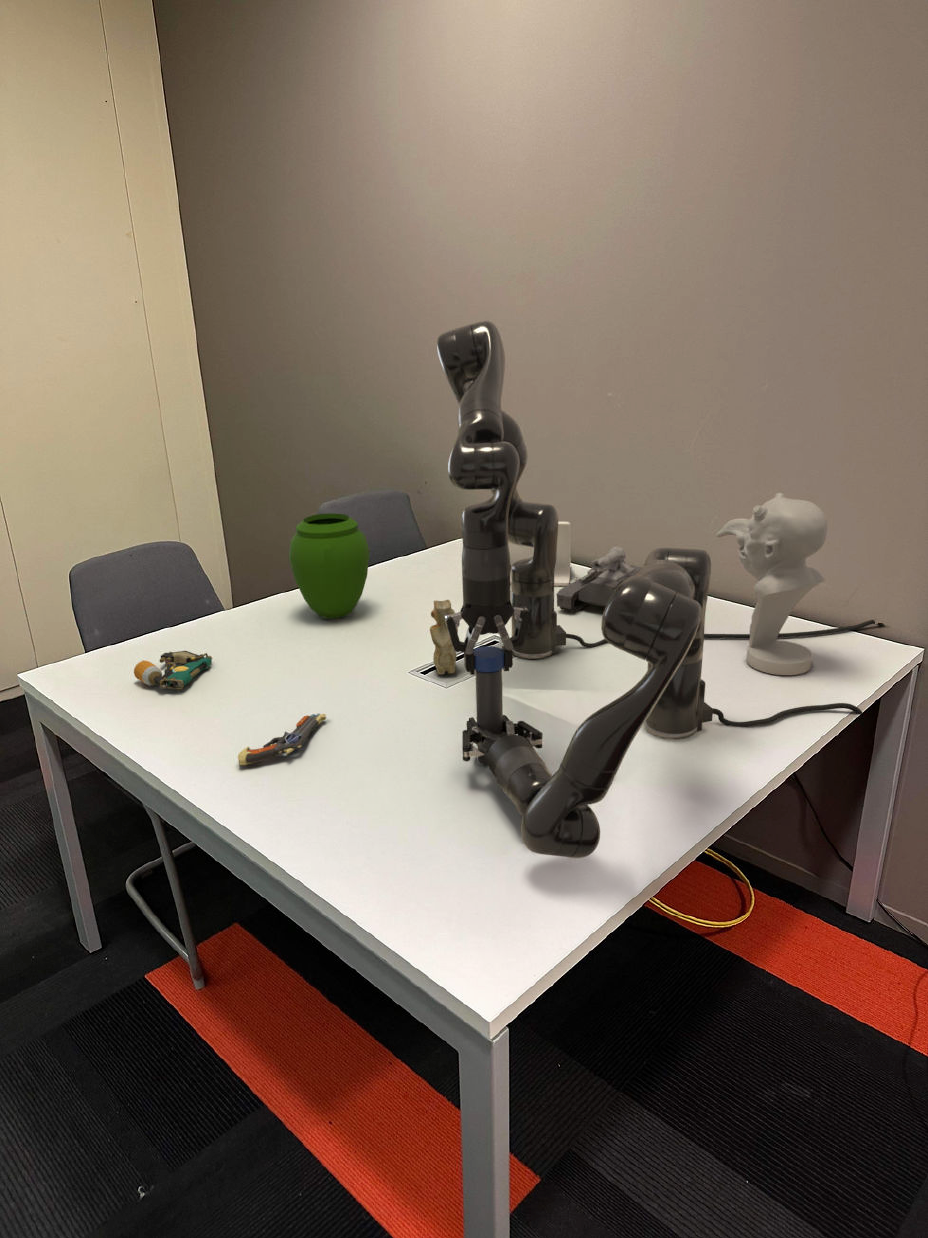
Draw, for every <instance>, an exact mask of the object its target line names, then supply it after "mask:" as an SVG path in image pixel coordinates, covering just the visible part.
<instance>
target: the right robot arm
mask: <svg viewBox="0 0 928 1238" xmlns="http://www.w3.org/2000/svg"><path fill="white" fill-rule="evenodd" d="M711 574H712V561H711V556H710V554H709V553H708V551H707V550H705V549H704V550H703V549H696V548H695V549H694V548H681V547H657V548H654V549H652V550H651V551H650V552H649V554H648V555H647V557H646V559H645V562H644V565H643V567H642V569H641V570H640V571H639V572H638V573H637V574H636V575H633V576H631V577H629V578H627V579H626V580H624V581H623V582H622V583H621V584H620V585H619V586H618V587H617V589H616V590H615V591H614V593H613V594H612V596H611V597H610V599H609V601H608V603H607V605H606V607H604V610H603V613H602V617H601V624H600V625H601V634H602V637H603V639H605V640H606V641H607V643H609V644H610V645H611V646H613V647H614V648H616V649H618V650H620V651H623V652H625V653H627V654H629V655H631V656H634V657H637V658H638V659H641V660H643V661H645V662H647V667H646V668H647V669H646V672H645V674H644V675H643V677H642V678H641V679H639V681H638V682H637V683H636V684H635V685H634V686H633V687H631V688H630V689H629V690H628V691H626V692H625V693H624V694H622V695H621V696H619V697H618V698H616V699H614V700H612V701H611V702H609V703H607V704H606V705H604V706H602V707H601V708H599V709H598V710H596V711H594V712H593V713H592V714H591V715H589V716H588V717H587V718H586V719H584V720H583V722H581V724H579V726H578V727H577V728H576V730H575V732H574V734H573V735H572V738H571V739H570V741H569V744H568V745H567V748H566V751H565V753H564V756H563V757H562V760H561V762H560V764H559V767H558V769H556V771H555V773H553V774H552V772H550V770H549V768H548V766H547V764H546V762H545V761H544V760H543V758H542V756H541V755H540V754H539V753H538V752H537V750H536V749H542V748H543V741H544V740H543V738H544V737H543V735H544V734H543V732H541V731H540V730H539V729H537V728H535V727H534V726H533V725H531V724H529V723H527V722H526V721H524V720H518V721H517V723H514V721H512V720H510V718H509V717H508V716H507V715H506V714H503V733H500V734H492V733H491V732H489V731H488V730H486V729H485V730H482V729H481V728H479V725H478V724H477V720H476V719H475V717H473V716H471V717H468V720H466V729H464V730H462V735H461V736H462V744H461V748H462V761H463V762H470V761H471V758H472V757H477V758H478V756H479V757H480V758H481V759H482V760H484V761H486V763H487V765H488V766H487V767H488V769H489V771H490V773H491V774H492V776H493V777H494V779H495V780H496V783H497V784H498V786H499V787H500V789H501V790H502V791H503V793H504V794H505V795H506V796H507V797H508V798H509V799H510V800H511V802H512V804H513V806H514V808H515V809H516V810H517V812H518V813H519V814H520V815H521V816H522V819H521V823H520V836H521V839H522V843H523V844H524V846H525V847H526V848H527V849H528V850H529V851H531V852H532V853H535V854H538V855H543V856H544V855H545V856H552V857H553V856H554V857H564V858H569V859H584V858H586V857H589V856H590V855H592V854H593V853H594V852H595V851H596V849H597V847H598V846H599V844H600V839H601V825H600V822H599V820H598V816H597V815H596V813H595V812H594V811H593V809H592V807H591V806H589V805H595V804H598V803H599V802H601V801H603V800H604V798H605V797H606V795H607V794H608V792H609V790H610V788H611V786H612V784H613V782H614V781H615V780H614V779H615V778H616V775H617V773H618V771H619V768H620V767H621V765H622V762H623V761H624V758H625V756H626V754H627V752H628V751H629V748H630V747H631V745H632V743H633V741H634V740H635V738H636V736H637V735H638V734H639V732H640V730H641V729H642V727H644V729H645V730H646V732H648V733H649V734H651V735H653V736H655V737H658V738H660V739H667V740H684V739H688V738H691V737H694V736H695V735H696V734H697V733H699V732H702V731H703V724H704V723H710V722H713V716H714V715H716V716H717V719H718V721H719V722H720V723H721V724H722V725H725V726H729V727H736V728H749V727H757V726H764V725H768V724H771V723H775V722H777V721H778V720H780V719H782V718H784V717H787V716H790V715H795V714H799V713H805V712H807V713H808V712H816V711H817V712H819V711H831V710H837V709H845V710H851V711H852V712H853V713H855V714H856V715H863V714H864V712H863V711H862V710H861V709H860V708H859V707H857V706H856V705H854V704H851V703H849V702H848V703H845V702H836V703H828V704H817V705H805V706H804V705H803V706H798V707H797V706H796V707H794V708H793V707H792V708H787V709H785V710H782V711H779V712H777V713H775V714H774V715H771V716H770V717H769V716H768V717H766V718H761V719H754V720H746V721H732V720H729V719H727V718H725V716H724V713H723V712H722V711H721V710H720V709H718V708H713V707H712V706H711V705H709V704H708V703H706V702H705V696H706V695H705V694H706V682H705V680H704V679H702V671H703V655H704V643H705V642H704V641H705V638H704V634H705V628H706V627H705V625H706V612H707V604H708V598H709V597H708V596H709V590H710V584H711V583H710V582H711ZM474 744H475V745H474ZM477 745H478V746H479V749H478V747H476V746H477Z"/></svg>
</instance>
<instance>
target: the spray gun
mask: <svg viewBox="0 0 928 1238" xmlns="http://www.w3.org/2000/svg"><path fill="white" fill-rule="evenodd" d="M212 660H213V657H212V656H211V655H208V653H207V652H205V653H201V654H197V653H194V652H192V651H191V652H190V651H188V650H180V651H169V652H164V653H162V654H161V655H160V658H159V660H158V662H159V663H161V664H163V663H165V664H166V668H165V670H163V672H164V674H163V673H162V669H160V668H159V666H157V665H156V664H154V663H152V662H151V661H149V660H141V661H139V662H138V663H136V665H135V666H134V668H133V675H134V677H135V678H136V679H137V680H139V681H140V682H142V683H143V684H145V685H147V686H155V685H157V686H158V687H160V688H161V689H171V690H172V689H173V690H182V689H184V687H185V686H186V685H188V684H189V683H190V682H191V681H192V679H193V678H195V677H196V676H197V675H198V674H200V673H201V672H202V671H203V670H206V669H208V668H209V667H210V666H211V665H212V662H213V661H212ZM178 663H179V664H181V665H179V666H176V665H177V664H178Z"/></svg>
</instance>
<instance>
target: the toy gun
mask: <svg viewBox="0 0 928 1238" xmlns="http://www.w3.org/2000/svg"><path fill="white" fill-rule="evenodd" d="M326 719H327V714H325V713H317V714H315V713H312V714H311V715H304V716H302V718H301V719H300V720H298V722H297V723H296V724H295V725H296V726H295V727H296V728H295V729H294V730H293V731H292V732H287V731H284V733H283V735H282V736H277V737H273V738H272V739H271V740H269V741H268V742H266V743H265V744H264V745H263V746H262V747H260V748H255V749H253V748H252V749H251V747H250V746H247V747H245V748H244V749H242V750H241V751H240V752H239V753H238V755H237V760H238V764H239V766H246V765H250V764H254V763H258V762H262V761H265V760H268V759H271V758H275V757H279V756H282V755H284V754H286V755H288V754H290V753H292V752H294V751H295V750H296V749H300V748H301V747H302V746H303V744H304V743H305V742H306V741H307V740H308V738H309V736H310V734H311V733H312V732H313V731H314V730H315V729H316V728H317V727H318V726H319V725H320V724H321V723H322V722H324V721H326Z"/></svg>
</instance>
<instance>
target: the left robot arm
mask: <svg viewBox="0 0 928 1238" xmlns="http://www.w3.org/2000/svg"><path fill="white" fill-rule="evenodd" d="M436 353H437V356H438V360H439V364H440V366H441V369H442V370H443V373H444V375H445V378H446V380H447V382H448V384H449V386H450V389H451V391H452V393H453V395H454V397H455V400H456V402H457V403H458V408H457V431H458V432H457V436H456V439H455V442H454V443H453V446H452V448H451V451H450V454H449V457H448V462H447V473H448V478H449V480H450V482H451V483H452V485H453V486H454V487H455V488H457V489H458V490H460V491H465V492H466V491H467V492H468V491H491V494H492V496H491V497H490V498H489V499H487V500H485V501H481V502H477V503H474V504H471V505H468V506H466V507H465V508H464V509H463V511H462V515H461V527H462V529H461V530H462V533H461V534H462V551H461V552H462V554H461V578H462V579H461V580H462V582H461V583H462V606H461V608H460V611H458V612H455V613H454V614H450V613H446V614H445V615H444V619H445V622H446V625H447V629H448V632H449V636H450V639H451V642H452V645H453V647H454V650H455V651H456V653H463V663H464V665H463V666H464V669H465V671H466V672H467V673H468V674H469V675H470V676H474V675H475V659H474V653H473V651H474V650H475V647H476V645H477V643H478V641H479V639H480V636H483V635H488V634H493V635H497V634H498V635H499V638H500V640H501V643H502V646H501V649H502V650H503V651H504V668H503V669H502V671H503V672H510V668H513V665H514V656H515V657H518V658H521V659H525V660H526V659H527V660H540V659H545V658H548V657H550V656H552V655H557V654H558V653H557V650H558V649H557V648H558V647H563V646H567V639H571V640H574V641H577V642H578V643H579V644H580V645H581V646H582V647H584V648H587V649H588V648H589V649H590V648H591V649H593V648H596V647H600V646H602V645H605V644H607V643H608V642H607V641H606V640H605V638H603V639H601V640H599V641H597V642H594V643H593V642H592V643H589V642H585V640H584V639H583V638H582V637H581V636H579V635H578V634H577V635H576V634H572V633H567V632H566V631H565V629H564V628H563V627H562V626H561V625H560V624H558V613H557V612H556V611H555V586H554V571H555V565H556V556H557V538H558V522H559V515H558V511H557V509H556V507H555V506H553V505H552V504H549V503H541V502H531V501H524V500H523V499H521V497H520V494H519V491H518V484H519V482H520V479H521V478H522V476H523V473H524V471H525V468H526V466H527V462H528V450H527V446H526V443H525V440H524V437H523V434H522V430H521V427H520V426H519V424H518V423H517V421H516V420H515V419H514V418H513V417H512V416H511V415H509V414H508V413H507V412H505V410H503V409H502V394H503V388H504V382H505V381H504V380H505V373H506V352H505V348H504V344H503V340H502V337H501V334H500V331H499V330H498V327H497V326H496V325H495V323H493V321H490V320H480V321H476V322H473V323H470V324H466V325H463V326H460V327H456V328H454V329H450V330H448V331H445V332H442V333H440V334H439V335H438V337H437V340H436ZM508 541H509V542H510V543H512V544H515V545H520V546H527V547H534V552H533V557H530V558H526V559H522V560H519V561H516V562H515V563H513V565H512V567H511V564H510V553H509V546H508ZM510 571H511V582H510ZM461 620H463V621H464V622H465V623H466V624H467V626H468V627H467V630H466V634H465V637H464V641H461V639H460V637H459V632H458V633H457V630H456V628H457V627H458V628H459V626H460V624H461V623H460V622H461ZM510 620H511V621H510ZM874 620H875V619H870V620H866V621H864V622H861V623H859V624H854V625H848V626H841V627H836V628H835V627H834V628H828V629H820V630H810V631H798V632H781V633H780V632H779V634H778V636H777V639H781V638H798V637H808V636H809V637H811V636H820V635H821V636H822V635H829V634H836V633H842V632H848V631H854V630H855V631H856V630H859V629H862V628H865V627H868V626H870V625H877V626H879V627H880V628H885V627H886V625H885V624H884V623H883V622H882V623H878V624H875V621H874ZM509 621H510V622H511V637H510V634H509V633H508V630H507V628H506V625H507V624H508V622H509ZM704 639H750V633H704Z"/></svg>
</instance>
